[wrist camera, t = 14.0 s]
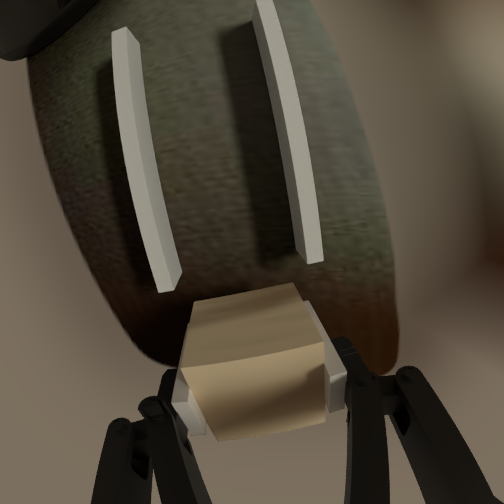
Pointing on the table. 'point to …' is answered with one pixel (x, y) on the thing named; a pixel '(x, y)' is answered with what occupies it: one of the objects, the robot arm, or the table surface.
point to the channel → (144, 162)
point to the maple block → (255, 363)
